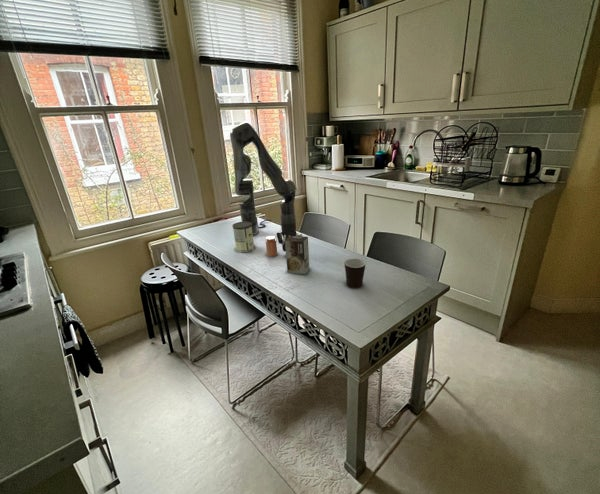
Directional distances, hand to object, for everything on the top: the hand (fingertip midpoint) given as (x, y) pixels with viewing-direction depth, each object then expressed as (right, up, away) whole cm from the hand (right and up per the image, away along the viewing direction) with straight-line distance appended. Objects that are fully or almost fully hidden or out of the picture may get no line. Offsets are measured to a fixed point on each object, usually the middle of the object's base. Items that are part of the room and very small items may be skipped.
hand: (290, 251), depth 165 cm
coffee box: (+4, -9, -18) cm, 21 cm away
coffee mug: (+29, -14, -31) cm, 44 cm away
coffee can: (-25, +2, +10) cm, 27 cm away
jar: (-10, -1, 0) cm, 10 cm away
